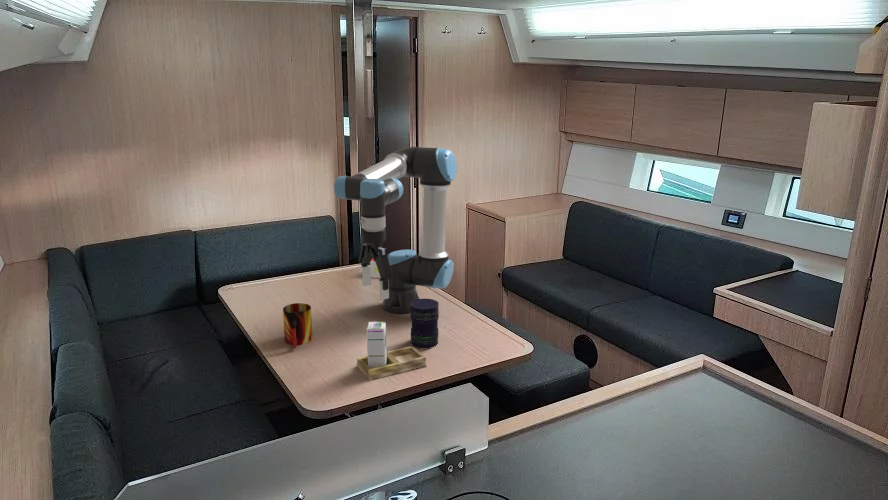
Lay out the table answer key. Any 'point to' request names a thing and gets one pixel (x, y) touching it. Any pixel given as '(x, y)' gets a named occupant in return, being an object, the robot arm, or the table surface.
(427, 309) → the storage jar
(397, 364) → the socket board
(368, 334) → the syrup box
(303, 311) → the mug
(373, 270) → the white red cube
